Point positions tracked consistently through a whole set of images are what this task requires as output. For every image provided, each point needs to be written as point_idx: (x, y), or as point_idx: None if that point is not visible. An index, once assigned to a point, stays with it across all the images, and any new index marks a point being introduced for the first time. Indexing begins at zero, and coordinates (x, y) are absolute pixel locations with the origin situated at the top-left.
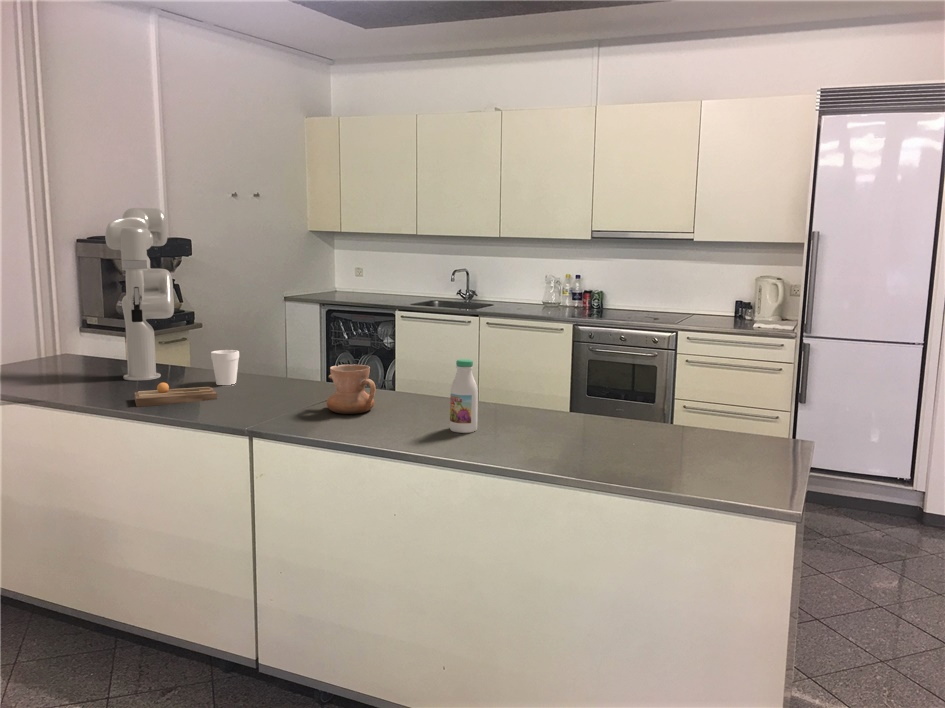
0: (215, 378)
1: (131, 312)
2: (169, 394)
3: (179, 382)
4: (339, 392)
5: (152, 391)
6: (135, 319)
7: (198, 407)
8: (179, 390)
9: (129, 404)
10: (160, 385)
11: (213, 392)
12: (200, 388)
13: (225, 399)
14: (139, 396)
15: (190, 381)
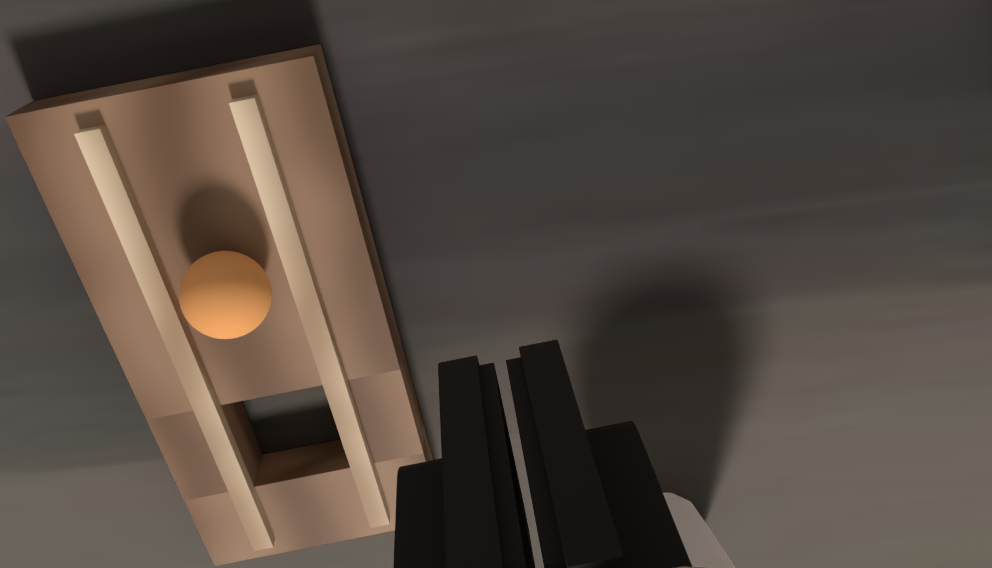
0: None
1: (556, 497)
2: (161, 327)
3: (953, 261)
4: None
5: (263, 203)
6: (404, 468)
7: (28, 465)
8: (319, 367)
9: (129, 33)
10: (183, 296)
11: (249, 547)
12: (354, 480)
13: (270, 562)
14: (79, 132)
15: (960, 325)
